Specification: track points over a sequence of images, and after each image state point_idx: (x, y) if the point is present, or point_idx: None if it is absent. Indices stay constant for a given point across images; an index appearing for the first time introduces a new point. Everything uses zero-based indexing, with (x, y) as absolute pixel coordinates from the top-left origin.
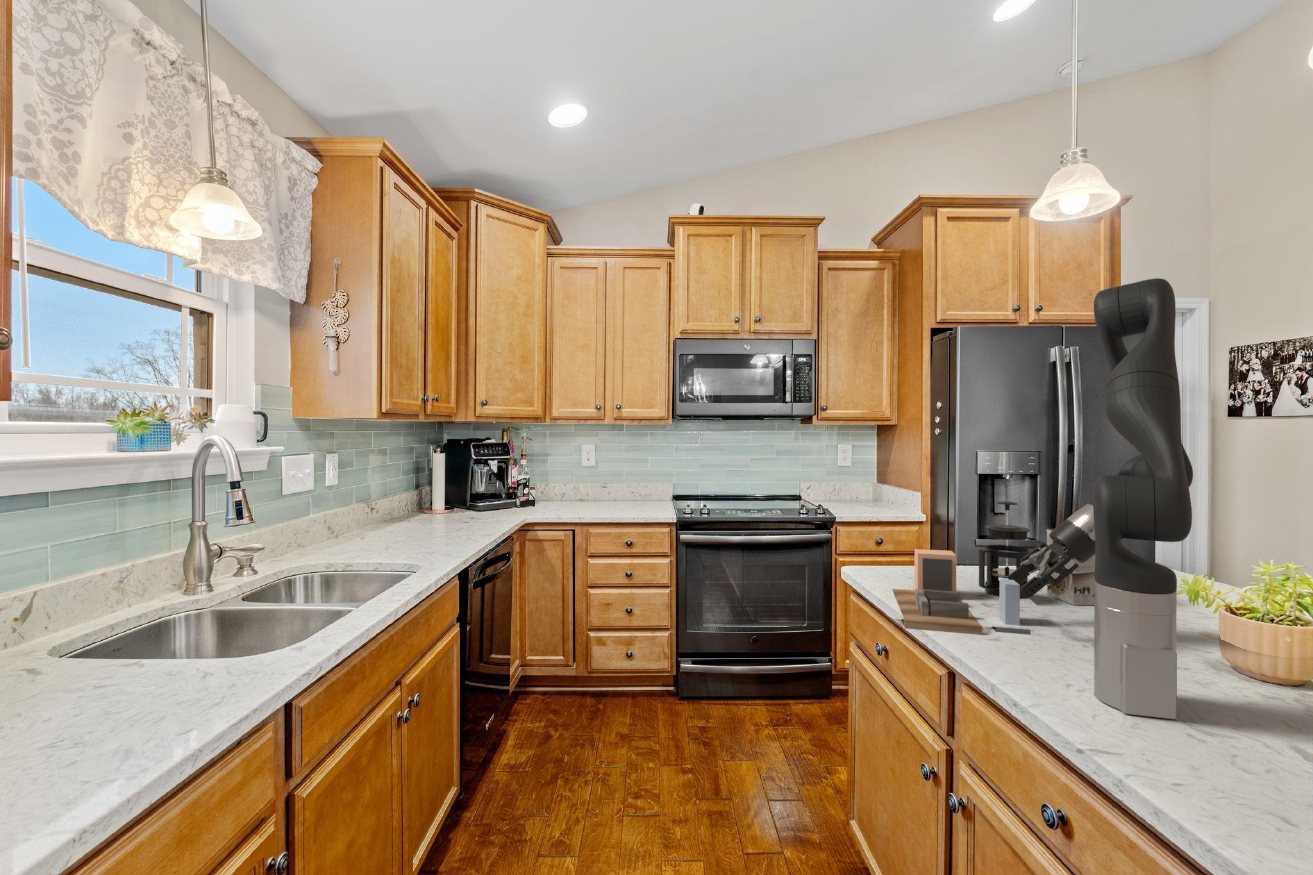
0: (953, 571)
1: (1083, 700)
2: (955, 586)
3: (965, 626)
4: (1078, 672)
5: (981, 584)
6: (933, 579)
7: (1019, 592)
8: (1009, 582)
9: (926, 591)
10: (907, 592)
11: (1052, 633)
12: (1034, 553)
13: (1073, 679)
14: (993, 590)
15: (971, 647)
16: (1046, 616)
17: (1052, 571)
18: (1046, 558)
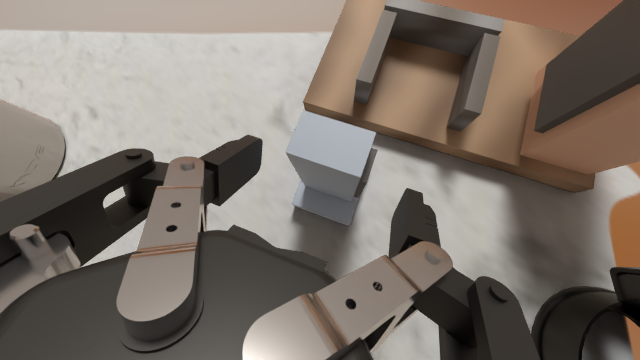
0: (604, 106)
1: (53, 100)
2: (551, 138)
3: (314, 76)
4: None
5: (633, 268)
6: (570, 66)
7: (291, 160)
8: (324, 138)
9: (482, 38)
10: None
11: None
12: (392, 309)
13: (105, 134)
14: (603, 300)
15: (249, 60)
16: (424, 353)
17: (88, 171)
18: (164, 231)
